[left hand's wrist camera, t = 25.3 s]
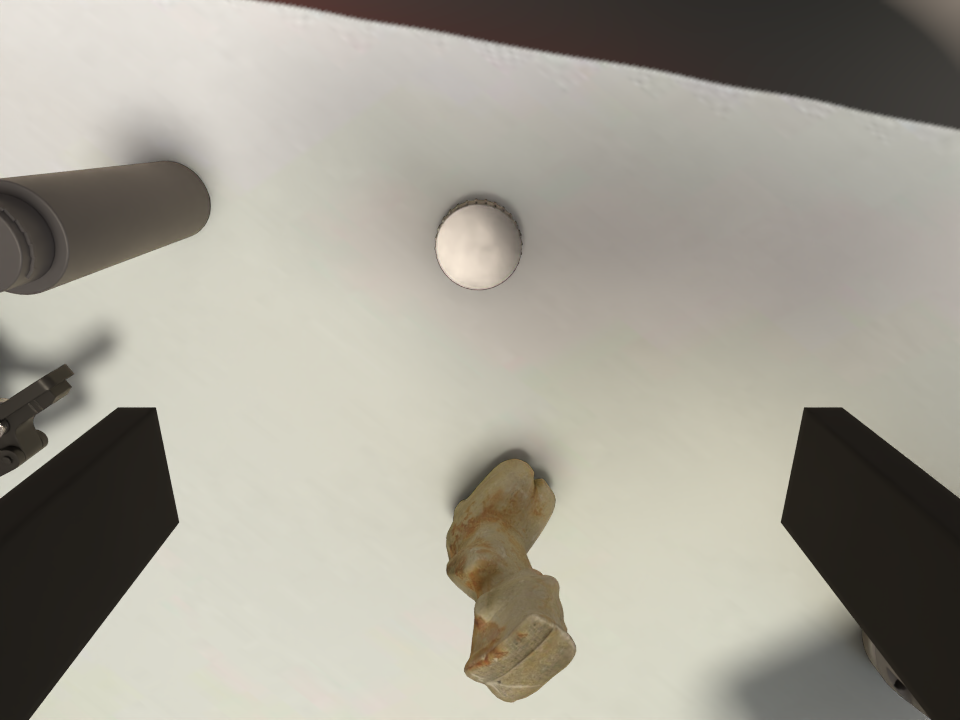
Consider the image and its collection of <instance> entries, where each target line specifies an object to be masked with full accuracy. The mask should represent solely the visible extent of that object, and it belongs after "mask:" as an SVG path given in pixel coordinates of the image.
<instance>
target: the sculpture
mask: <svg viewBox="0 0 960 720" xmlns="http://www.w3.org/2000/svg"><path fill="white" fill-rule="evenodd" d="M555 501H556V500H555V495H554V493H553V492H552V490H551V489H550V487H549V486H548V485H547V483H546V482H545V480H543V479H534V471H533V470H532V468H531V467H530V466H529V464H527V463H526V462H524V461H522V460H519V459H510V460H506V461H504V462H502V463H500V464H499V465H497V466H496V467H495V468H494V469H493V470H492V471H491V472H490V473H489V474H488V475H487V476H486V477H485V478H484V480H483V481H482V482H481V483H480V484H479V485H478V486H477V487H476V489H475V490H474V491H473V493H472V494H471V495H470V496H469V497H468V498H467V500H466V499H464V500H462V501H461V502H460V503H459V504H458V505H457V507H456V508H455V511H454V517H453V523H452V525H451V527H450V529H449V531H448V533H447V537H446V539H447V540H446V547H447V552H448V557H449V562H448V564H447V569H446V571H447V575H448V577H449V578H450V579H451V580H452V581H453V583H454V584H455V585H456V586H457V587H459V588H460V589H461V590H462V591H463V592H464V593H466V594H467V595H468V596H469V597H470V598H472V599H473V600H474V601H475V602H476V603H475V608H474V616H475V619H474V629H473V637H472V646H471V654H470V658H469V660H468V662H467V663H466V665H465V668H464V672H465V674H466V675H467V676H468V677H469V678H471V679H473V680H474V681H476V682H480V683H483V684H485V685H486V686H487V687H488V688H489V689H490V691H491V692H492V693H493V694H494V695H495V696H496V697H497V698H499V699H501V700H503V701H506V702H515V701H516V700H519V699H523V698H526V697H528V696H529V695H531V694H533V693H534V692H536V691H538V690H539V689H540V688H541V687H542V686H543V685H544V684H545V683H547V682H548V681H549V680H550V679H551V678H552V677H554V676H555V675H556V674H557V673H559V672H560V671H561V670H563V669H564V668H565V667H567V665H568V664H569V663H570V662H571V661H572V659H573V657H574V656H575V653H576V645H575V643H574V641H573V639H572V638H571V636H570V635H569V634H568V633H567V628H566V625H565V623H564V615H563V608H562V605H561V602H560V599H559V583H558V581H557V580H556V579H555V578H554V577H552V576H548V575H542V573H541V572H539V571H537V570H535V569H532V567H531V564H530V562H529V559H528V557H527V552H528V551H529V550H530V548H531V547H532V545H533V544H534V543H535V541H536V540H537V538H538V537H539V535H540V534H541V532H542V531H543V529H544V527H545V525H546V524H547V522H548V520H549V518H550V517H551V515H552V513H553V510H554V507H555Z"/></svg>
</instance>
